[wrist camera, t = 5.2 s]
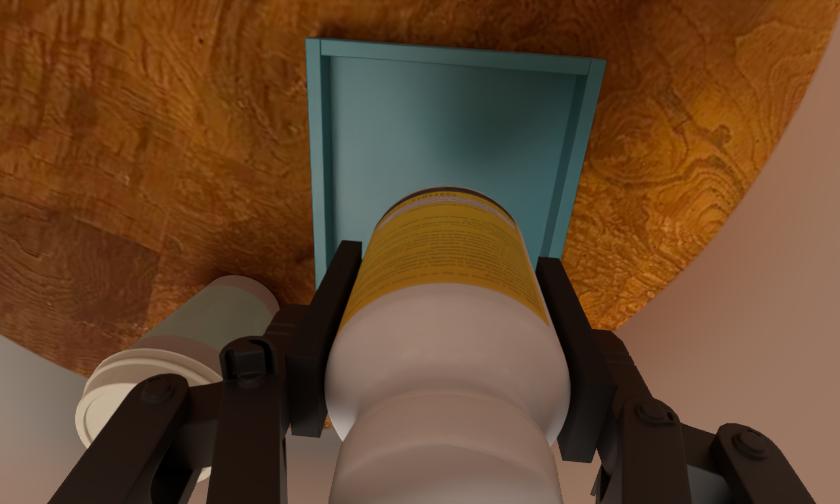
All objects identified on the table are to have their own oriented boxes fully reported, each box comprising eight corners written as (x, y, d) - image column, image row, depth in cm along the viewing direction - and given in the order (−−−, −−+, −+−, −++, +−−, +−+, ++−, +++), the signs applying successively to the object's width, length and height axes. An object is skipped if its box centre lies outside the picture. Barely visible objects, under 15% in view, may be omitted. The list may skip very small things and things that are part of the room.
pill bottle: (359, 185, 18) (238, 405, 8) (525, 173, 17) (635, 395, 7) (381, 320, 21) (314, 612, 11) (523, 314, 20) (600, 617, 10)
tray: (594, 57, 25) (607, 60, 23) (542, 295, 32) (548, 313, 30) (315, 36, 25) (304, 37, 23) (323, 278, 32) (315, 294, 30)
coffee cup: (164, 311, 34) (37, 440, 24) (221, 234, 31) (104, 343, 20) (260, 371, 37) (184, 514, 26) (321, 305, 33) (263, 438, 23)
